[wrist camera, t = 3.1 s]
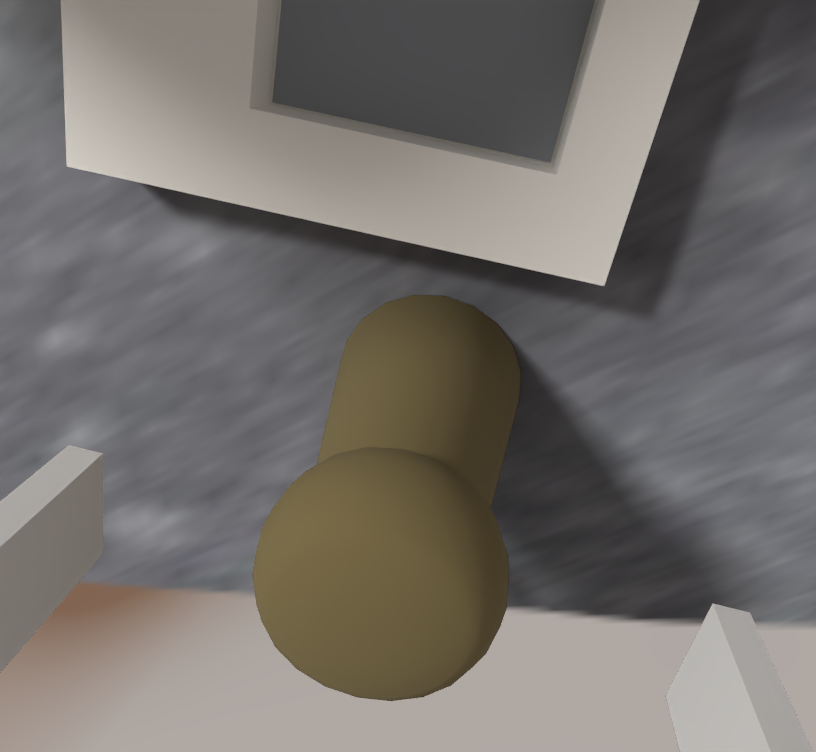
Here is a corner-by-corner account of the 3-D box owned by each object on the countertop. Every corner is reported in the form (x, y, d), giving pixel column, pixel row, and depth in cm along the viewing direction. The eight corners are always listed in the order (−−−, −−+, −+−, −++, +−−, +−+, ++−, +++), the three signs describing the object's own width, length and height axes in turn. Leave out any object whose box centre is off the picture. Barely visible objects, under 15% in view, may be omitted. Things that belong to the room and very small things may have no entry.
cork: (529, 453, 23) (547, 752, 13) (358, 466, 24) (253, 748, 14) (511, 283, 20) (515, 488, 10) (322, 306, 21) (164, 509, 12)
